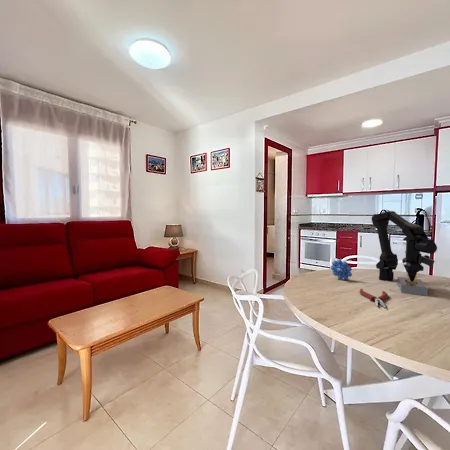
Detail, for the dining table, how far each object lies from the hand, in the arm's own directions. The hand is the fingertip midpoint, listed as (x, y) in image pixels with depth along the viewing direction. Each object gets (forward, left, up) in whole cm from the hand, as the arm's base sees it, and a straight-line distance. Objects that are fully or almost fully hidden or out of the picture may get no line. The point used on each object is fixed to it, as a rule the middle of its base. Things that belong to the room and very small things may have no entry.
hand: (411, 280), depth 124 cm
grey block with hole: (0, 0, -5) cm, 5 cm away
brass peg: (0, 0, -2) cm, 2 cm away
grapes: (-33, +1, -5) cm, 33 cm away
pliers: (-18, -25, -6) cm, 31 cm away
